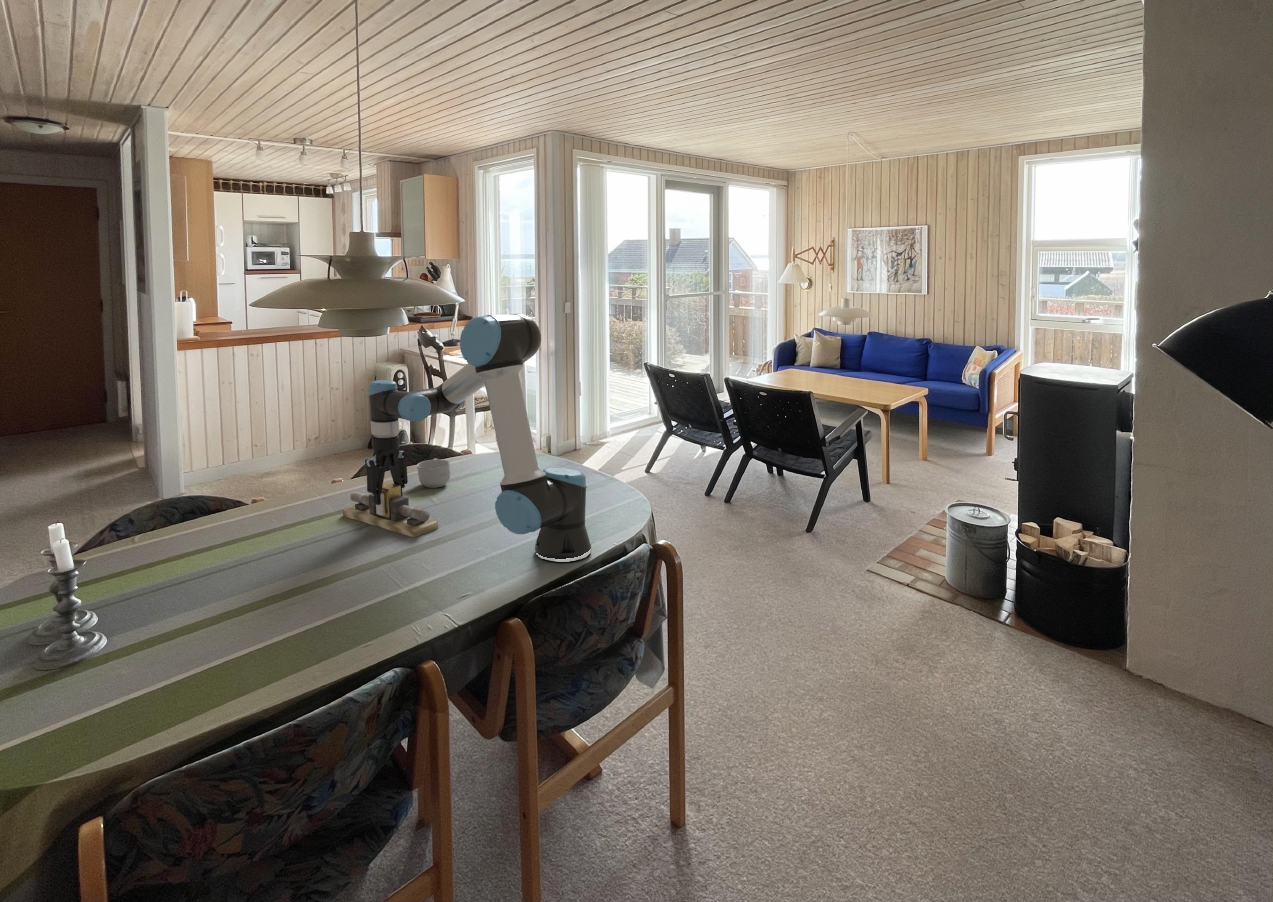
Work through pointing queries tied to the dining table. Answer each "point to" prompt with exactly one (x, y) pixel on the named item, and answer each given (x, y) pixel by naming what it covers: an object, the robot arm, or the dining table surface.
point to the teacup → (434, 472)
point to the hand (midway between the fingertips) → (389, 511)
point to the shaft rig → (401, 515)
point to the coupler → (390, 496)
